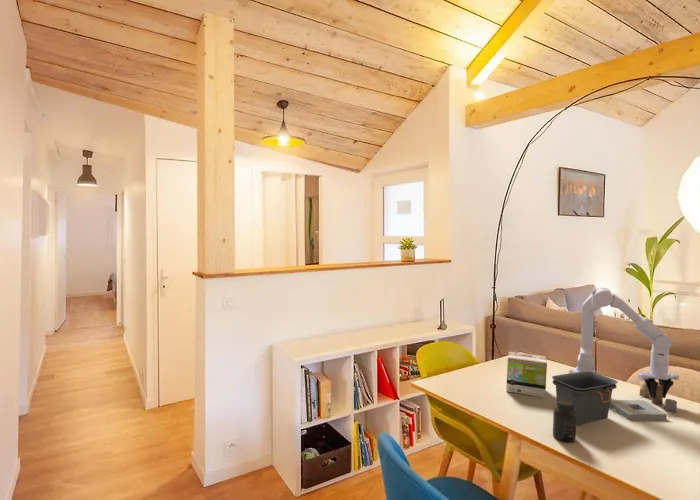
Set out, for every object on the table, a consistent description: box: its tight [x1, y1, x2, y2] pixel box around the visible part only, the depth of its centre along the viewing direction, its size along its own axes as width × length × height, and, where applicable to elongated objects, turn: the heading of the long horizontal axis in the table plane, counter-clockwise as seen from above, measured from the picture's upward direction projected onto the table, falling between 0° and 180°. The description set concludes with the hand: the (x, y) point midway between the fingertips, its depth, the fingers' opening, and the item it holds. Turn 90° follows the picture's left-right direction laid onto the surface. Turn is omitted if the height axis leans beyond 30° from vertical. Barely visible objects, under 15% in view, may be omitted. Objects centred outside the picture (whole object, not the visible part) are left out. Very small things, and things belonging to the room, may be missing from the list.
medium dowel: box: [639, 380, 650, 398], centre depth 175 cm, size 3×3×6 cm
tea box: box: [506, 351, 548, 398], centre depth 179 cm, size 15×10×15 cm, turn 68°
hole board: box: [609, 399, 668, 421], centre depth 160 cm, size 14×12×2 cm
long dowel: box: [651, 384, 664, 406], centre depth 168 cm, size 3×3×7 cm
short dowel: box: [664, 398, 678, 414], centre depth 161 cm, size 3×3×4 cm
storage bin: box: [551, 371, 619, 426], centre depth 154 cm, size 21×16×14 cm
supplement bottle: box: [552, 400, 577, 443], centre depth 140 cm, size 7×7×12 cm
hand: (657, 397), depth 168 cm, fingers closed on long dowel, 3 cm apart
